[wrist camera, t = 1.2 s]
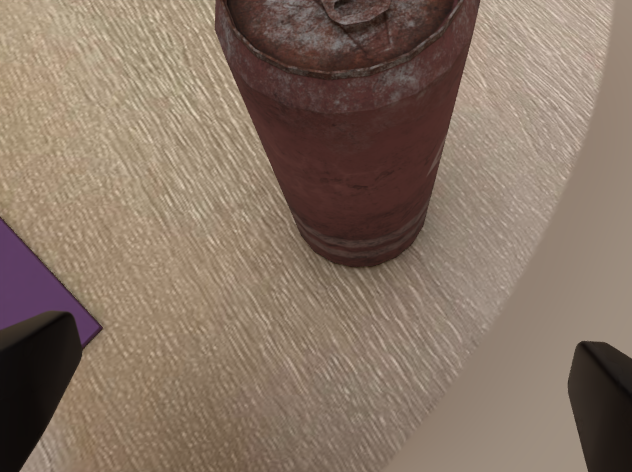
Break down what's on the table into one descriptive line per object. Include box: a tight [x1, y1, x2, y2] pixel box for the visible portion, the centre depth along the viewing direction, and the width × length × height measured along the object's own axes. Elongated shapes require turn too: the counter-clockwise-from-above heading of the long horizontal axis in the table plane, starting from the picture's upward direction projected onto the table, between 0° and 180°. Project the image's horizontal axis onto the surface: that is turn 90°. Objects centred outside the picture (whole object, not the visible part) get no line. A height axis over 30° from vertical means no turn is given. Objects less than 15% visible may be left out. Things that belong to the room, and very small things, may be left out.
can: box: [215, 0, 480, 267], centre depth 18 cm, size 6×6×14 cm
